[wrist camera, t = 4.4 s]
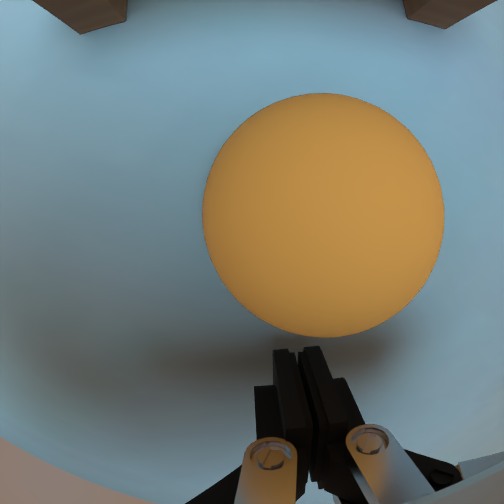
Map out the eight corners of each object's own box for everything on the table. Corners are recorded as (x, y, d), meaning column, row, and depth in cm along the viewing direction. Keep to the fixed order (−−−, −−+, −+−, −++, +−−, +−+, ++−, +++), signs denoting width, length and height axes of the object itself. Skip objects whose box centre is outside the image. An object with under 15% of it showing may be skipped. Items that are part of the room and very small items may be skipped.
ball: (158, 152, 4) (220, 61, 8) (194, 372, 8) (218, 222, 12) (539, 207, 4) (417, 91, 8) (408, 374, 8) (370, 234, 12)
